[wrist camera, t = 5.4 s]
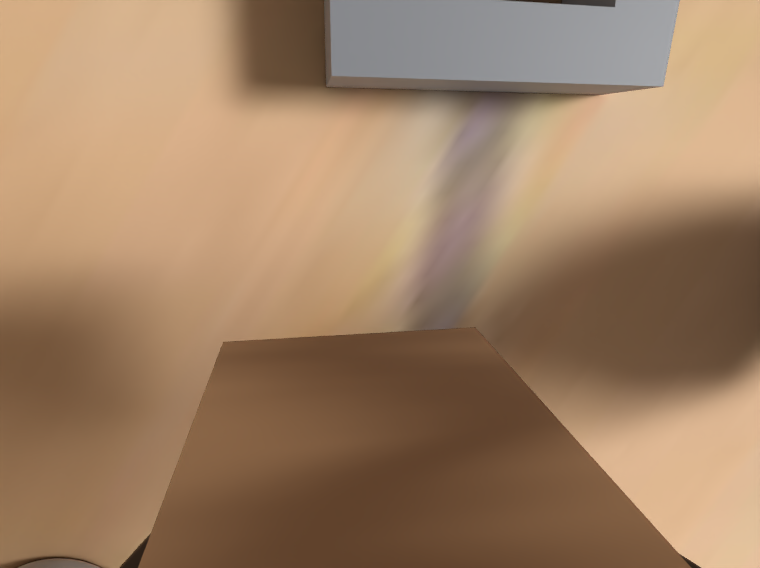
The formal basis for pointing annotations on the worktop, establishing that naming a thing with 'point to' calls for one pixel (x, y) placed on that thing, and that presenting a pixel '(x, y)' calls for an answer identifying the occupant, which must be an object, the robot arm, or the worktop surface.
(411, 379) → the peg
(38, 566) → the lotion bottle
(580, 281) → the worktop surface
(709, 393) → the worktop surface
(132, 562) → the robot arm
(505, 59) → the socket block
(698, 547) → the worktop surface
